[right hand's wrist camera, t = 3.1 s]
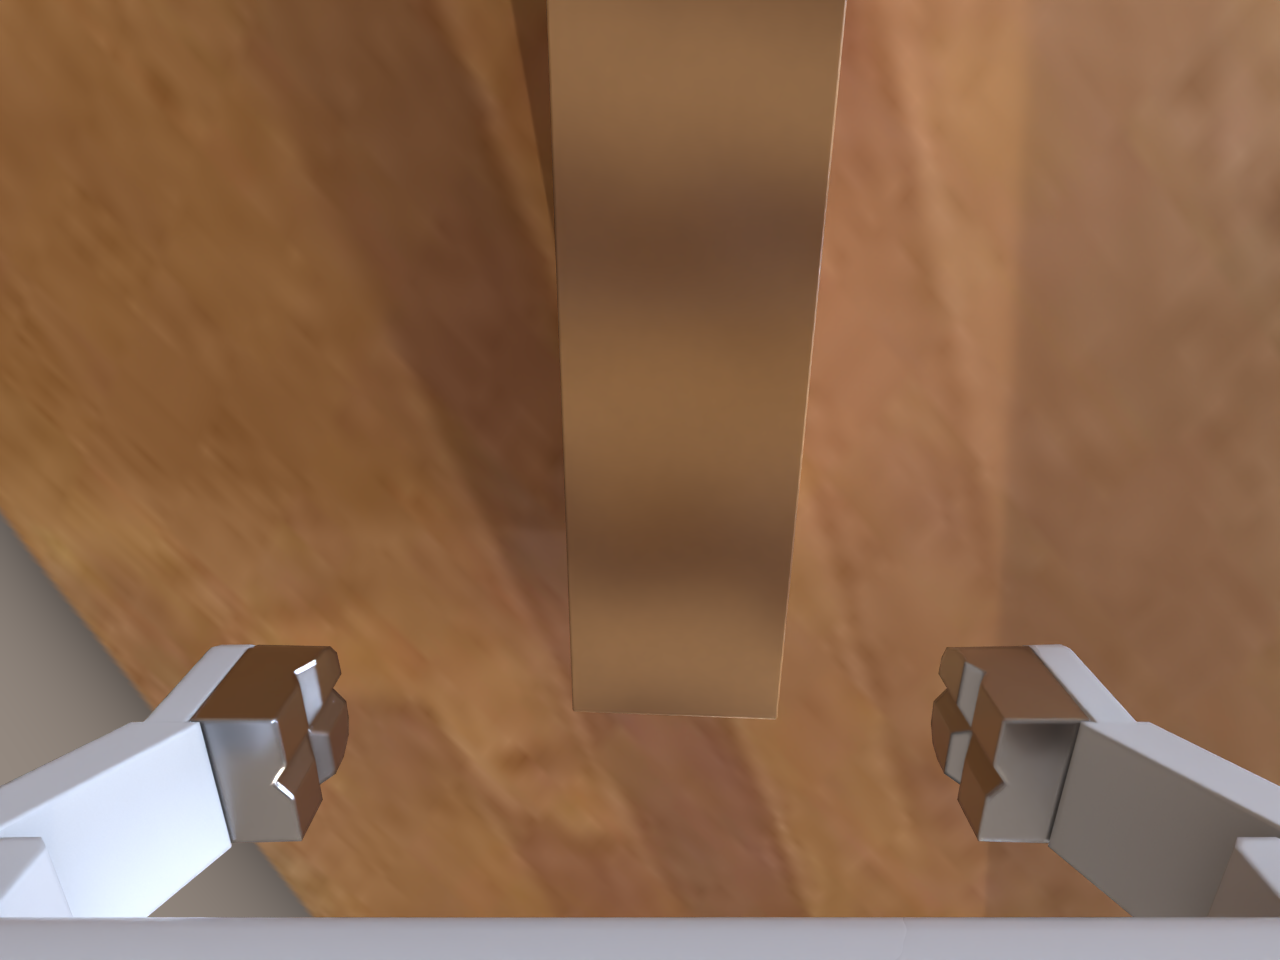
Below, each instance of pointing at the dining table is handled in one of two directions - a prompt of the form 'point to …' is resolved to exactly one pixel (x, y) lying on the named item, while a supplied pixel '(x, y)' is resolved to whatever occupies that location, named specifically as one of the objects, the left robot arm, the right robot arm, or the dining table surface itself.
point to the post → (686, 334)
